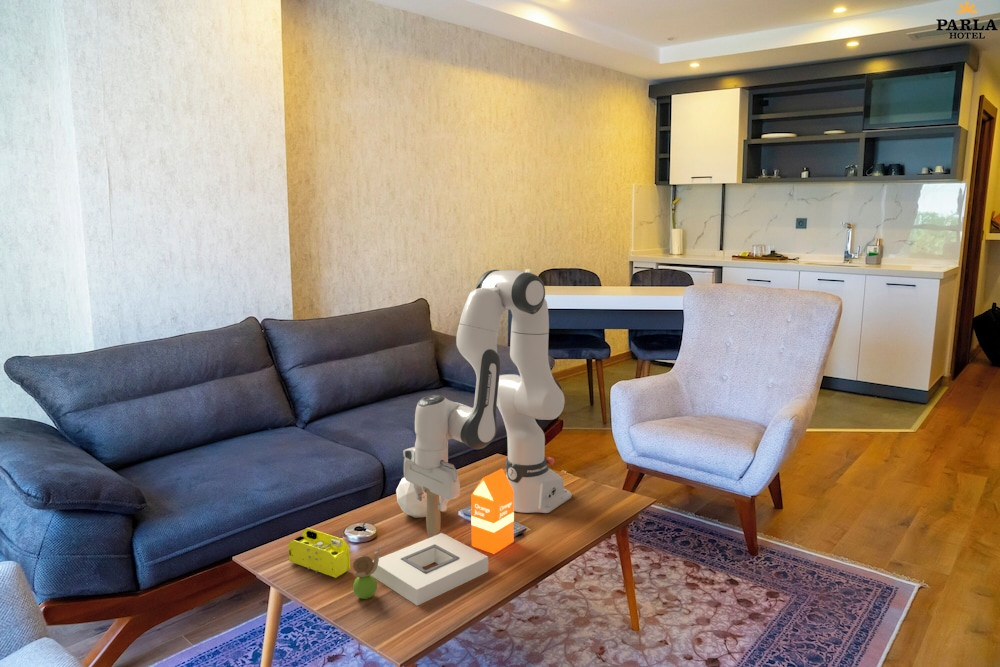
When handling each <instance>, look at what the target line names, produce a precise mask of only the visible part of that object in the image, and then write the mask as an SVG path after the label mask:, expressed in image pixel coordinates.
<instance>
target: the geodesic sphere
mask: <svg viewBox="0 0 1000 667" xmlns="http://www.w3.org/2000/svg"><path fill="white" fill-rule="evenodd" d="M422 490H423V489H422ZM395 493H396V501H397V503H398V506H399V507H400V509H401V511H402V512H403V513H405V514H406V515H408V516H410V517H412V518H414V519H416V518H426V509H427V493H425V492H424V491H423V493H424V494H425V499H424V500H422V501H419V500H417V494H416V492H415V489H414V484H413V483H411V482H409V481H406V479H405V477H404V476H403V477H402V478H401V480H400V481H399V484H398V486H397V488H396V489H395ZM441 501H442V500H441V496H439V502H440V503H441Z"/></svg>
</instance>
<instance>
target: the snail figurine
mask: <svg viewBox="0 0 1000 667" xmlns="http://www.w3.org/2000/svg"><path fill="white" fill-rule="evenodd" d="M377 550H378V551H375V552H374V554H373V557H374V559H373V560H372V557H370V556H368V555H359V556H357V557H356V558H355V559H354V561H353V563H352V568H353V569H354V571H355V572H353V575H354V576H356V578H355V580H354V581H353V586H352V588H353V593H354V594H355V596H356V597H358V598H360V599H362V600H368V599H369V598H371V597H373V596H374V595H375V594H376V592H377V589H378V582H377V579H376V578H374V577H373V576H372V573H374V572H375V570H376V569H377V566H378V562H379V558H381V552H380V550H381V548H380V546H377ZM373 561H374V562H373Z"/></svg>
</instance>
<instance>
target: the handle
mask: <svg viewBox="0 0 1000 667" xmlns="http://www.w3.org/2000/svg"><path fill="white" fill-rule="evenodd" d="M422 489H423V491H424V492H425V493H427V509H426V517H425V522H426V531H427V536H428V538H430V537H433V536H435V535H438V534H440V533H441V532H440V531H441V523H442V520H441V517H442V516H441V511H440V510H438V508H439V507H438V504H440V503H441V502H439V495H437V494H435V493H432V492H430V490H429V489H428V488H426V487H424V486H423V488H422Z"/></svg>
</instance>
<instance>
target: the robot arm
mask: <svg viewBox="0 0 1000 667" xmlns="http://www.w3.org/2000/svg"><path fill="white" fill-rule="evenodd" d="M545 297H546V288H545V284H544V281H543V280H542V278H541V277H539V276H538V275H536V274H535V273H532V272H528V271H527V272H525V271H524V272H523V271H521V270H517V269H516V270H514V269H508V270H505V269H504V270H501V269H492V270H488V271H486V272H484V273H483V274H482V275H481V276H480V277H479V279H478V281H477V284H476V286H475V288H474V289H473V290H471V291H470V293H469V294H468V296H467V298H466V301H465V304H464V306H463V309H462V312H461V316H460V319H459V322H458V323H459V324H458V327H457V331H456V340H455V341H456V343H455V344H456V348H457V350H458V352H459V354H460V355H461V356H462V357H463V359H465V360H466V361H467V362H468V363H469V364H470V365H471V367H472V368H473V370H474V373H475V375H476V376H475V377H476V382H475V392H474V400H473V407H471V406H469V405H466V404H464V403H460V402H457V401H456V402H455V401H452V400H449V399H448V398H446V397H445V396H444V395H442V394H441V395H440V394H430V395H426V396H423V397H422V398H421V399H420V398H419V400H418V402H417V403H416V404H417V405H416V407H415V413H414V432H415V437H416V438H415V442H414V446H412V447H409V448H406V449H404V450H403V452H402V455H403V478H404V477H405V479H406V481H409V482H411V483H413V484H414V489H415V492H416V494H417V500H419V501H422V500H424V499H425V494H424V493H423V490H422V488H423V486H424V487H426V488H428V489H429V490H430V492H432V493H435V494H437V495H439V496H441V502H440V504H438V507H439V508H438V510H440V512H446V511H447V509H448V503H449V501H450V500H454V499H457V498H459V497H460V495H461V485H460V477H459V473H458V470H457V469H456V467H455V465H454V464H452V463H449V440H452V439H453V440H455V441H458V442H460V443H463V444H464V445H465V446H468V447H469V448H471V449H473V450H481V449H484V448H486V447H487V446H488V445H490V444H491V443H492V441H494V438H496V434H497V430H498V428H497V427H498V426H497V425H498V423H497V408H498V411H499V413H500V414H501V417H502V420H503V423H504V426H505V430H506V431H505V432H506V437H507V457H506V462H505V467H506V468H505V471H506V473H505V475H506V477H507V479H508V481H509V483H510V485H511V487H512V489H513V491H514V512H517V513H525V514H526V513H527V514H529V513H543V514H547V513H550V512H552V511H553V510H555V509H556V508H558V507H559V506H561V505H562V504H564V503H565V502H567V501H568V500H570V499H571V498H572V497H573V496H572V493H571V491H570V490H567V489H566V488H565V484H564V480H563V478H562V477H561V476H560V475H559V474H558V473H557V472H555V471H553V470H552V469H551V468H549V465H551V466H552V465H554V463H555V460H556V459H555V458H553V457H551V456H548V457H546V456H545V451H546V448H545V447H546V445H545V444H546V438H545V436H546V435H545V432H544V431H543V429H542V427H541V426H539V424H538V422H537V421H536V420H541V421H542V420H544V421H545V420H547V421H548V420H549V421H552V420H555V419H557V418H558V417H559V416H560V415H561V414H562V412H563V410H564V407H565V399H566V398H565V395H564V393H563V391H562V389H561V388H560V387H559V385H558V384H557V383H556V381H555V379H554V376H553V374H552V369H551V366H550V362H549V336H550V335H549V333H550V322H549V321H550V320H549V319H550V318H549V317H550V316H549V308H548V307H549V306H548V303H547V300H546V299H545ZM506 310H508V311H510V312H511V315H512V316H511V326H510V342H509V343H510V344H509V345H510V346H509V357H510V360H511V362H513V364H514V365H515V366H516V367H517V370H518V373H519V375H518V374H514V373H513V374H511V373H510V374H509V373H507V374H500V372H501V360H500V356H499V354H498V337H499V331H500V326H501V320H502V315H503V314H504V312H505V311H506Z"/></svg>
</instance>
